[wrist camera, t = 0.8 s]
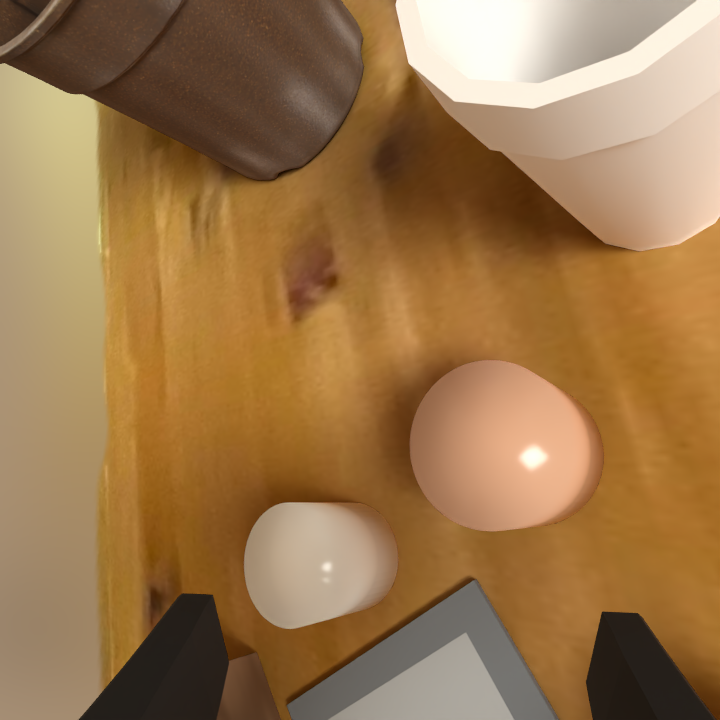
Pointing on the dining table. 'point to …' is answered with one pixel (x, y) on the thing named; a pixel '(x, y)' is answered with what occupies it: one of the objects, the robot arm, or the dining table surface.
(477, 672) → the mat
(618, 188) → the foam cup
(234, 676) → the walnut block
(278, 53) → the plant pot
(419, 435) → the peach rounded blob
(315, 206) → the dining table surface
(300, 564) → the cream rounded capsule
